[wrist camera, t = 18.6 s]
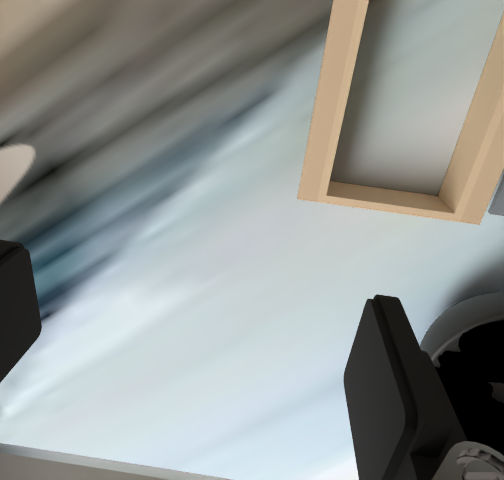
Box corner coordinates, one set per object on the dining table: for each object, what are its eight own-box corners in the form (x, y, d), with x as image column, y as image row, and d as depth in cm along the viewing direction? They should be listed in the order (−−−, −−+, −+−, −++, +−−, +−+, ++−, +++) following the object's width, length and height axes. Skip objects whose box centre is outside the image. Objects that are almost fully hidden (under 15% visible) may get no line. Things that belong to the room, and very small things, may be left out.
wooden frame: (351, -122, 32) (361, -148, 28) (578, -95, 32) (624, -116, 28) (296, 183, 45) (297, 199, 40) (460, 206, 44) (479, 224, 40)
